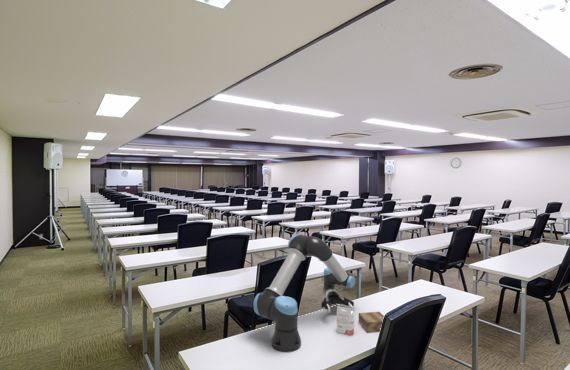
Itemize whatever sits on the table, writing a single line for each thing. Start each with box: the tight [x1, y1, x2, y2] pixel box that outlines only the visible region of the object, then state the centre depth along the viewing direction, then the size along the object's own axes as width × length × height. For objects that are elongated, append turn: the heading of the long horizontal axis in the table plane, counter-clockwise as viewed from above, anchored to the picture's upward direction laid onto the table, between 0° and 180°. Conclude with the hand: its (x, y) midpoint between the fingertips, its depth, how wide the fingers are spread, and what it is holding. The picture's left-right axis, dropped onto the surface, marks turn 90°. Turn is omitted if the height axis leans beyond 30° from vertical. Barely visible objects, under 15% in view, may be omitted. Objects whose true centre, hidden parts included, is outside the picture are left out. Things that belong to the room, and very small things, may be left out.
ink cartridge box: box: [336, 305, 355, 336], centre depth 179 cm, size 9×5×15 cm, turn 62°
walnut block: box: [358, 311, 385, 334], centre depth 186 cm, size 13×13×6 cm
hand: (340, 309), depth 189 cm, fingers open, 13 cm apart
